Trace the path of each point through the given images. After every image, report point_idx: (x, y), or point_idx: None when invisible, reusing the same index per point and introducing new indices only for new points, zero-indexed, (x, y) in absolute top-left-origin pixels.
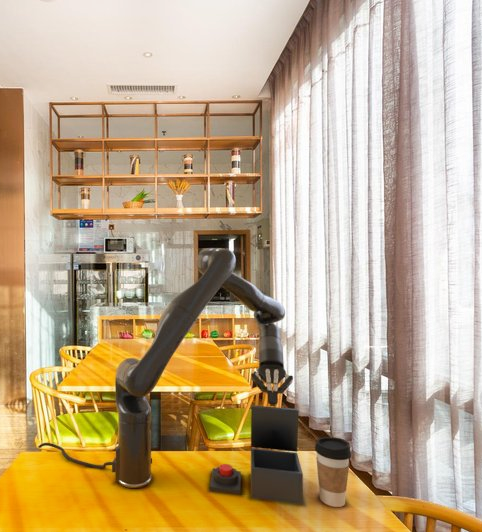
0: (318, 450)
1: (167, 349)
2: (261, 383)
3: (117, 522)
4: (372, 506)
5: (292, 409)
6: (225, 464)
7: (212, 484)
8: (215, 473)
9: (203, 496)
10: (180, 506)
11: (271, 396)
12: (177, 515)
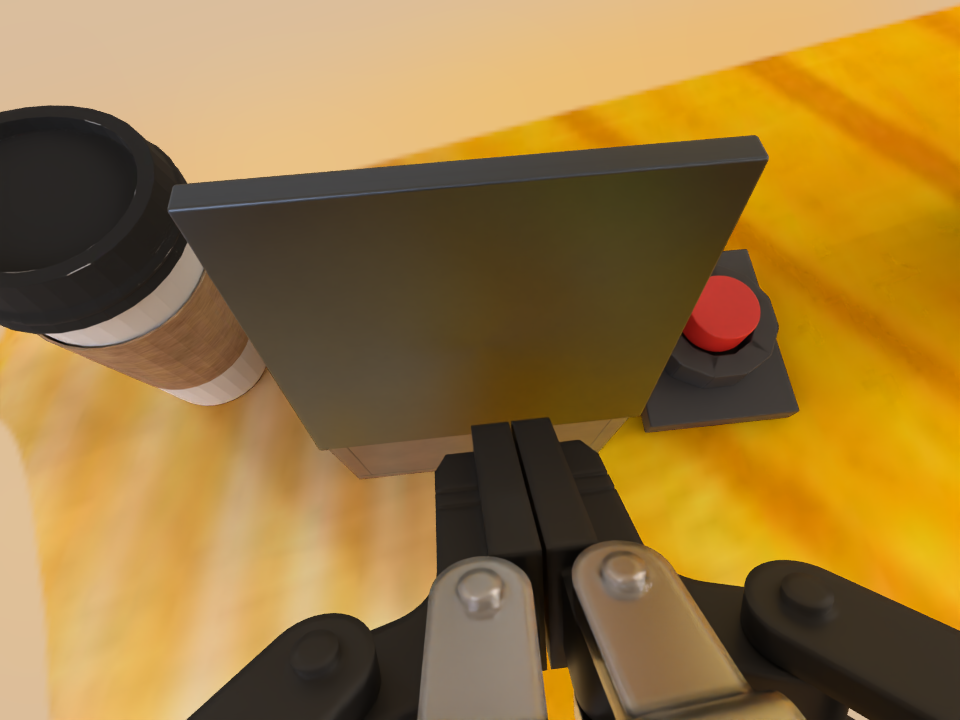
0: (173, 167)
1: None
2: (922, 672)
3: (935, 27)
4: (49, 365)
5: (246, 187)
6: (737, 332)
7: (742, 266)
8: (758, 288)
9: (747, 220)
10: (799, 143)
11: (548, 475)
12: (784, 100)
